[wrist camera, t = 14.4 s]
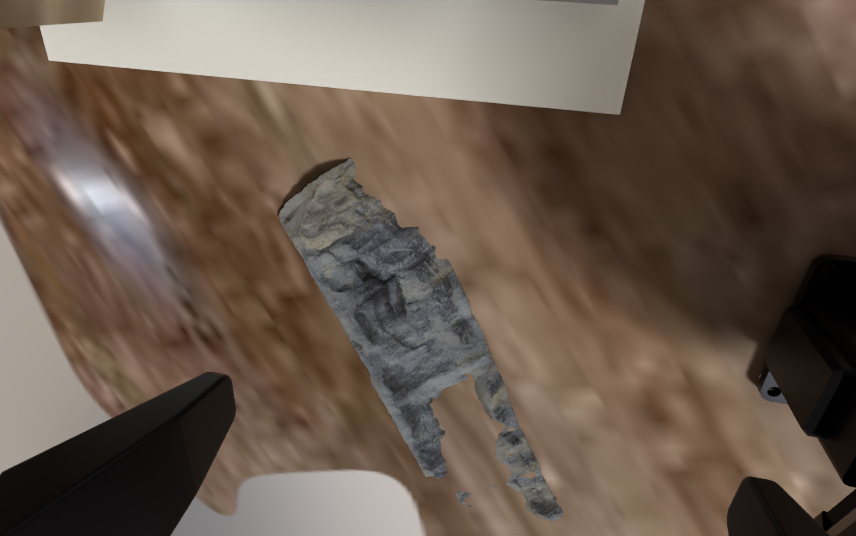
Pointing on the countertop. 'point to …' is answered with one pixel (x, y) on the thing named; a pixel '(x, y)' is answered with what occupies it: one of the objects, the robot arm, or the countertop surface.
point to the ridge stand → (377, 45)
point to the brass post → (49, 12)
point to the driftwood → (405, 321)
